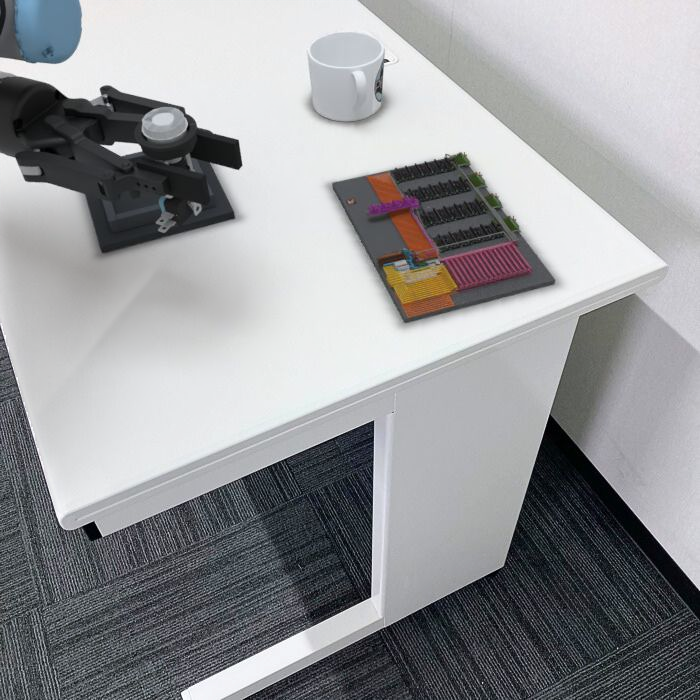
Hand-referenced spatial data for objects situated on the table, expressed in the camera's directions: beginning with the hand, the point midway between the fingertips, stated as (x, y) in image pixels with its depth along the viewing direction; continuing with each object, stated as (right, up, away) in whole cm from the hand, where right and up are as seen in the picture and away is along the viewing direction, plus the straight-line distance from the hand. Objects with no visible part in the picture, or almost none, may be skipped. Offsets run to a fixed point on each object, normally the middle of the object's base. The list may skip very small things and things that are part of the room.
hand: (222, 172), depth 64 cm
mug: (+11, +19, +41) cm, 46 cm away
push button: (-5, -3, +6) cm, 8 cm away
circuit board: (+21, -2, +23) cm, 31 cm away
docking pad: (-13, +4, +28) cm, 31 cm away
